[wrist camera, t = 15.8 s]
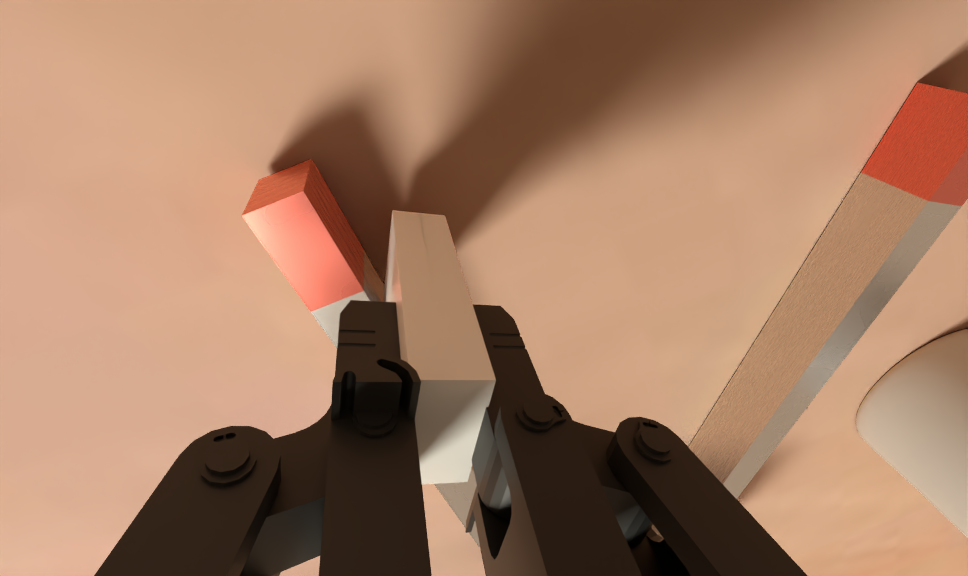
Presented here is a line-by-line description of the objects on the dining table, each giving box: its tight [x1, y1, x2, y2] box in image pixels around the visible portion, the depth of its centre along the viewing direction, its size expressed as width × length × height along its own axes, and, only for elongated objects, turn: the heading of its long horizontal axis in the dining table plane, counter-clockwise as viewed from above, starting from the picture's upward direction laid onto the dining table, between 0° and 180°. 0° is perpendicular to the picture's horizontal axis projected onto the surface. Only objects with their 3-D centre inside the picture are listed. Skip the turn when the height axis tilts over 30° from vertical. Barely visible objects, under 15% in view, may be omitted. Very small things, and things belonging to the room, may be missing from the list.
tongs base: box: [651, 82, 968, 538], centre depth 20 cm, size 28×9×3 cm, turn 168°
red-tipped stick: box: [242, 159, 480, 547], centre depth 17 cm, size 17×2×2 cm, turn 18°
